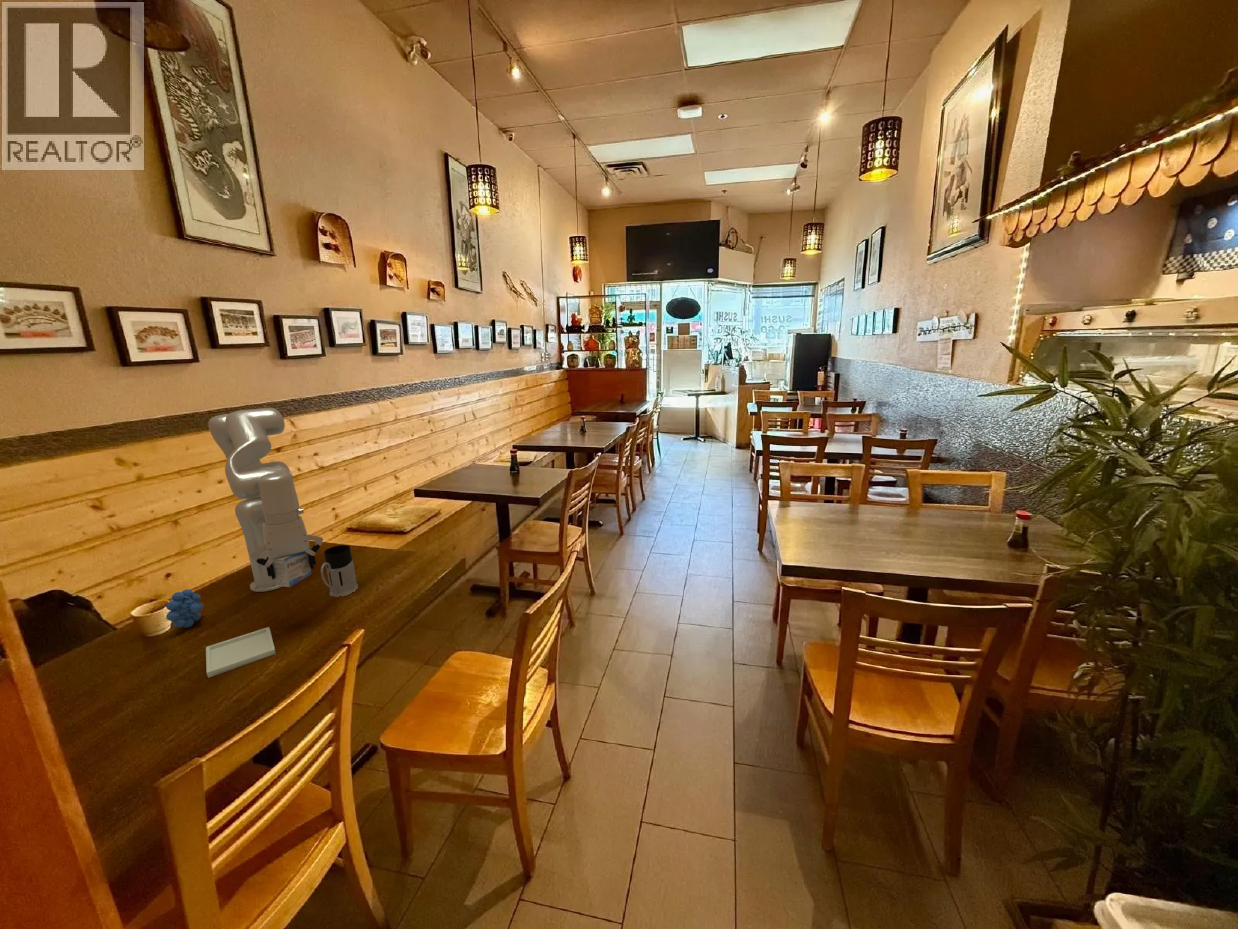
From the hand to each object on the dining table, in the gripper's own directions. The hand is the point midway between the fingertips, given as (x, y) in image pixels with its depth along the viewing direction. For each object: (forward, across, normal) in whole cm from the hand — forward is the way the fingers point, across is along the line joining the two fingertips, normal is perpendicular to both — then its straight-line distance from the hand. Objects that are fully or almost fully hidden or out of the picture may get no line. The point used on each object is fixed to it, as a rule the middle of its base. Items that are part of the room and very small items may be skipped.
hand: (293, 572), depth 135 cm
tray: (+17, +15, +5) cm, 23 cm away
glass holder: (+18, -12, -12) cm, 25 cm away
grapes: (+18, +25, -21) cm, 37 cm away
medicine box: (+3, 0, 0) cm, 3 cm away
